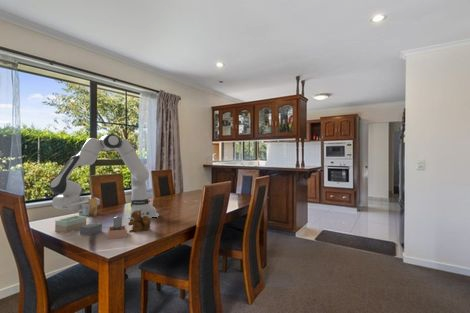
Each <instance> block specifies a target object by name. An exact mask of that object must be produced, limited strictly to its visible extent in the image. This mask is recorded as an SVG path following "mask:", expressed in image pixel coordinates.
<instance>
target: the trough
mask: <svg viewBox="0 0 470 313" xmlns="http://www.w3.org/2000/svg"><path fill="white" fill-rule="evenodd" d="M54 223H55V224H54V231H55V232H59V233H67V234H68V233H70V232H73V231H76V230H80V227H81V226H84V225H87V216H84V215H73V216H68V217H65V218H59V219H56V220H55V222H54Z"/></svg>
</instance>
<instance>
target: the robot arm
mask: <svg viewBox="0 0 470 313" xmlns="http://www.w3.org/2000/svg"><path fill="white" fill-rule="evenodd" d="M113 150H115V151H117V154H119V156H120V158H121V159H122V161H123V163H124V165H125V166H126V168H127V170H128V171H129V172H130V175H131V176H130V180H131V181H130V182H131V199H130V210H129V215H128V218H129V219H130V220H131V219H134V218H132V217H131V213H132V212H134V211H136V210H141V217H142V218H143V216H148V217H149V218H150V219H153V218H152V217H157V218H159V217H160V214H159V213H158V212H157V209H156V207H154V206H153V205H152V204H151V199H149V198H148V197H147V196H148V194H147V193H148V188H147V181H148V180H149V178H150V173H149V170H148V169H147V167H146V166H145V164H144V163H143V161H142V160H141V159H140V157H139V154H138V153H137V152H136V150H135V147H134V146H133V145H132V144H131V142H130V141H129V140H128V139H127V138H121V137H119V136H118V135H117V134H115V133H107V134H105V135H103V136H102V137H100V138H99V139H98V138H95V137H90V138H87V140H86V141H85V143H84V144H83V145H82V147H81V149H80V151H79V152H78V153H77V154H75V155H73V156H71V157H70V158H69V160H68V161H67V162H66V164H65V165H64V166H63V167H62V169H61V170H60V171H59V173H58V174H57V175H56V176H55V177H54V178H53V179H52V181H50V183H49V189H50V191H51V192H52V193H53V194H58V195H55V196H54V197H53V198H52V201H51V203H52V204H51V205H52V206H53V207H54V208H56V209H59V210H63V211H74V212H79V210H81V209H83V208H90V207H91V204H89V198H90V196H89V195H88V196H86V195H85V196H81V195H82V192H83V187H82V185H81V184H80V183H78V182H75V181H72V180H70V179H69V177H70V175H71V174H72V172H74V170H75V168H77V167H79V166H82V167H83V166H91V165H94V164H95V162H96V160H97V159H98V157H99V155H100V153H101V152H102V151H103V152H109V151H113ZM99 205H101V199H100V198H98V197H97V207H98V206H99ZM158 216H159V217H158Z"/></svg>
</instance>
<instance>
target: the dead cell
mask: <svg viewBox="0 0 470 313" xmlns="http://www.w3.org/2000/svg"><path fill="white" fill-rule="evenodd" d="M122 219H123V217H122V216H121V215H116V216H114V217H113V223H112V224H113V225H112V227H113V231H114V230H121V227H122V226H123V224H122V221H123V220H122Z"/></svg>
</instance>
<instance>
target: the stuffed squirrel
mask: <svg viewBox="0 0 470 313" xmlns="http://www.w3.org/2000/svg"><path fill="white" fill-rule="evenodd" d="M131 217H132V218H134V219H130V220H129V222H127V225H128V226H132V227H131V229H130V230H129V231H128V232H129V233H139V232H144V231H148V230H150V229H151V227H152V226H151V222H152V220H151V218H149V217H148V216H143V218H142V217H141V210H136V211H134V212H132V213H131Z"/></svg>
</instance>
